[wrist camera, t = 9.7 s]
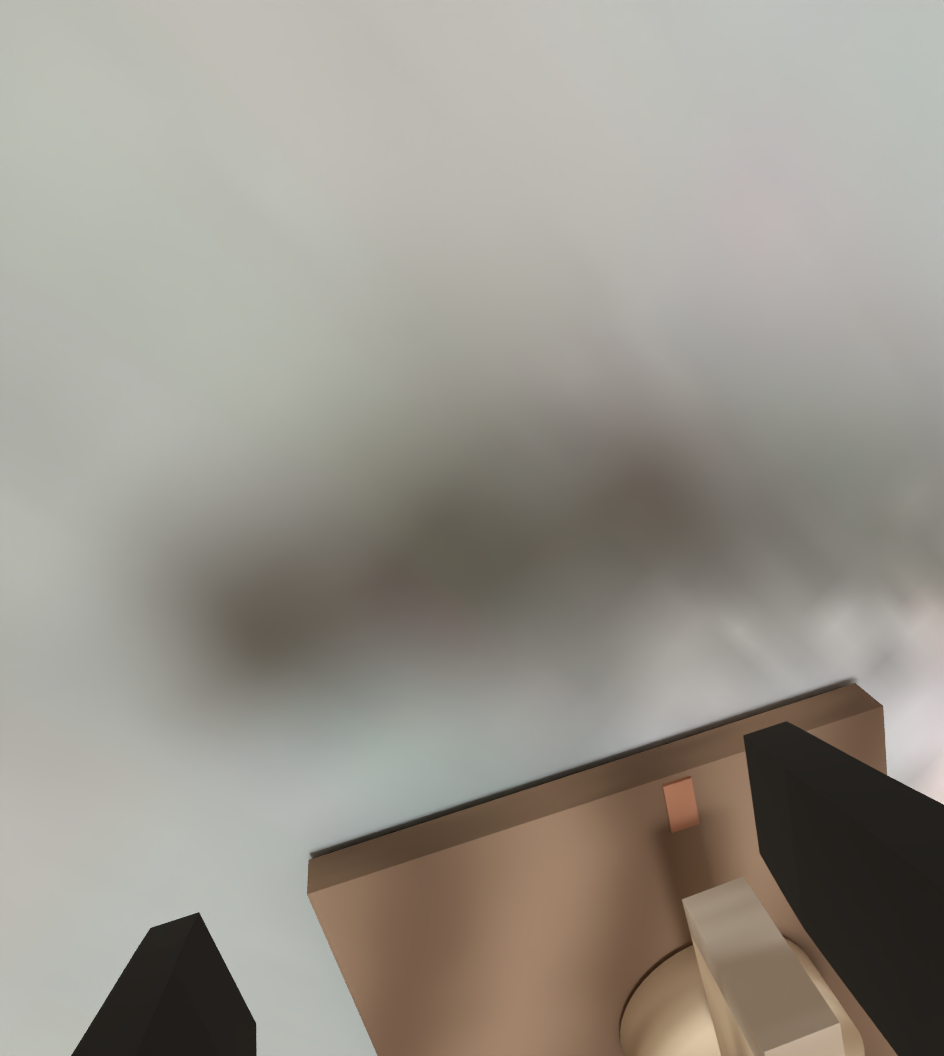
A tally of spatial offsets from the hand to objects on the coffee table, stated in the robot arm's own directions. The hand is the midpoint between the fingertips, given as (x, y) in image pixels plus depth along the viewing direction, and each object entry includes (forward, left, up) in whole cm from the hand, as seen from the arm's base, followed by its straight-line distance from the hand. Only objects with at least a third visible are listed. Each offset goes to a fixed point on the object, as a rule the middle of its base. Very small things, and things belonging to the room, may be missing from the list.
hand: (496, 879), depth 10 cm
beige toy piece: (-5, +14, -8) cm, 17 cm away
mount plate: (-3, +15, -9) cm, 18 cm away
